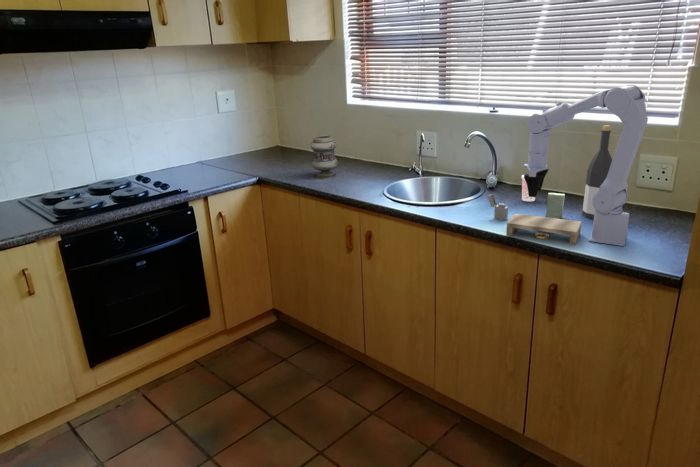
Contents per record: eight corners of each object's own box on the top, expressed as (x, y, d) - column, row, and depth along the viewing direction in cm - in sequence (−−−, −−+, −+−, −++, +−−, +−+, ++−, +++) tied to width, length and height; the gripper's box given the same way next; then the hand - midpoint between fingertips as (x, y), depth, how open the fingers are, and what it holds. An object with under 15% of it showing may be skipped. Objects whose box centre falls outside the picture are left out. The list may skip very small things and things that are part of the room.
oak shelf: (580, 233, 162) (581, 221, 161) (575, 244, 154) (576, 232, 153) (514, 225, 172) (514, 213, 170) (506, 235, 164) (507, 222, 162)
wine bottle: (576, 213, 180) (587, 125, 169) (595, 210, 182) (606, 122, 172) (594, 220, 173) (606, 128, 162) (613, 217, 175) (626, 126, 165)
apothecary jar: (309, 174, 248) (307, 135, 242) (334, 171, 251) (332, 133, 245) (316, 180, 237) (313, 139, 231) (341, 176, 240) (339, 137, 234)
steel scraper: (563, 217, 177) (565, 194, 175) (554, 231, 165) (557, 207, 162) (546, 215, 180) (548, 192, 177) (536, 229, 168) (538, 205, 165)
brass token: (549, 236, 162) (550, 233, 162) (547, 240, 159) (547, 237, 159) (536, 234, 164) (536, 231, 164) (533, 238, 161) (533, 235, 161)
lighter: (507, 219, 177) (509, 196, 175) (505, 220, 176) (506, 197, 174) (488, 215, 182) (489, 193, 179) (486, 216, 181) (487, 194, 178)
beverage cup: (518, 201, 196) (520, 164, 191) (521, 196, 201) (524, 160, 196) (535, 202, 193) (538, 165, 188) (538, 198, 198) (541, 161, 193)
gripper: (529, 146, 174) (526, 186, 179) (520, 155, 162) (517, 198, 167) (552, 148, 171) (548, 188, 175) (544, 157, 159) (540, 200, 164)
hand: (534, 193), depth 171 cm, fingers open, 7 cm apart
